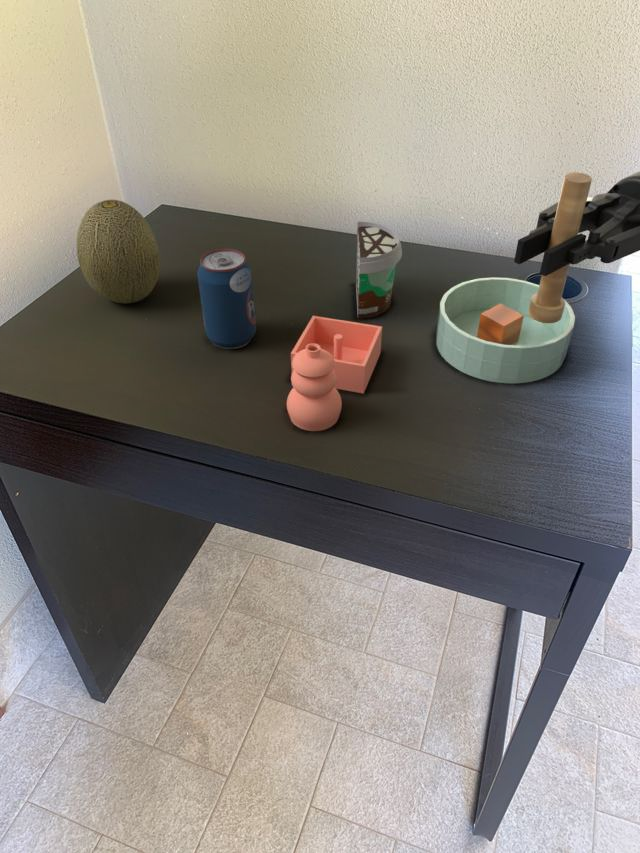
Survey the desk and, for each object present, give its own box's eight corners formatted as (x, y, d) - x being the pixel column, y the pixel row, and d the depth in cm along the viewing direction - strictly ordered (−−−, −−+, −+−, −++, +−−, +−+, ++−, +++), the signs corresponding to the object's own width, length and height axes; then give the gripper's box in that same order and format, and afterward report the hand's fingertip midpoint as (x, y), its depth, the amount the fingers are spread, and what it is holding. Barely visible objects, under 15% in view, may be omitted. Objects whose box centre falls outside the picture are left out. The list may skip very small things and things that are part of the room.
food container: (401, 324, 97) (406, 259, 90) (358, 324, 97) (360, 260, 90) (395, 280, 106) (399, 219, 100) (355, 280, 106) (357, 219, 100)
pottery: (313, 341, 94) (312, 277, 87) (380, 353, 92) (384, 288, 85) (267, 424, 81) (261, 356, 75) (344, 439, 79) (345, 371, 72)
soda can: (265, 342, 94) (259, 263, 86) (218, 357, 91) (207, 277, 83) (244, 319, 98) (236, 241, 90) (199, 332, 96) (187, 254, 88)
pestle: (568, 315, 83) (605, 178, 72) (548, 327, 82) (583, 188, 70) (541, 302, 86) (573, 167, 74) (521, 313, 84) (551, 176, 73)
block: (518, 340, 93) (524, 315, 90) (499, 351, 91) (504, 326, 88) (495, 328, 95) (500, 303, 92) (476, 338, 93) (480, 313, 90)
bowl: (591, 349, 92) (602, 314, 88) (509, 401, 84) (517, 365, 80) (491, 298, 102) (497, 265, 98) (409, 340, 94) (413, 305, 90)
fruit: (97, 325, 98) (71, 226, 88) (83, 288, 105) (58, 194, 95) (175, 307, 101) (158, 210, 91) (156, 273, 109) (139, 180, 99)
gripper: (698, 249, 84) (585, 317, 73) (587, 208, 93) (471, 262, 82) (722, 190, 79) (604, 252, 68) (601, 152, 88) (480, 201, 77)
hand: (532, 257), depth 75 cm, fingers closed on pestle, 3 cm apart
